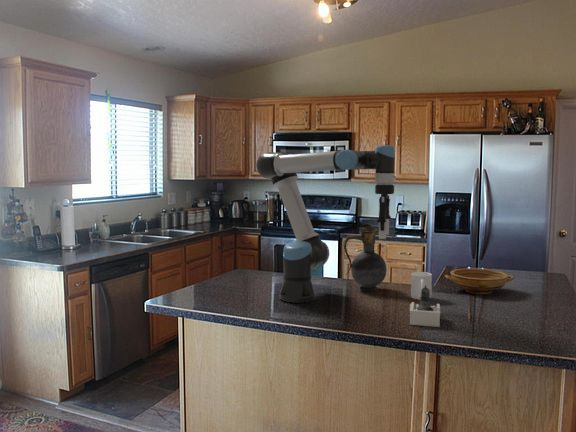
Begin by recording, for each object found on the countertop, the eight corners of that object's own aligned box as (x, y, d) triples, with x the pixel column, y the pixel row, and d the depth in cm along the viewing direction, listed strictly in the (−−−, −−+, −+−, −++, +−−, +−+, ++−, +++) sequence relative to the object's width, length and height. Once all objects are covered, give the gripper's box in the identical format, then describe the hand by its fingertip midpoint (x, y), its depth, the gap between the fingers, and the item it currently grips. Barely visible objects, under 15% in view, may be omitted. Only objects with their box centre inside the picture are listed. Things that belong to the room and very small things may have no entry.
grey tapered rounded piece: (414, 316, 190) (414, 283, 189) (430, 315, 190) (430, 283, 189) (419, 321, 184) (420, 287, 183) (435, 320, 185) (436, 287, 183)
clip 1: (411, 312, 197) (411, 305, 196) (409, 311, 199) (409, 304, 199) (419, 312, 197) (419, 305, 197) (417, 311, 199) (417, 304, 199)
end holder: (409, 324, 182) (409, 310, 181) (411, 315, 193) (411, 302, 193) (439, 326, 179) (439, 312, 179) (439, 317, 191) (439, 303, 190)
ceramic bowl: (451, 297, 220) (452, 278, 219) (438, 284, 244) (438, 267, 243) (523, 298, 218) (524, 279, 218) (502, 285, 242) (503, 268, 242)
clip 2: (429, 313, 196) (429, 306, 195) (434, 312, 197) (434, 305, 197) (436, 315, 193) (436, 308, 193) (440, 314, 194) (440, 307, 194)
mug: (433, 303, 211) (433, 278, 210) (412, 302, 212) (412, 277, 211) (430, 296, 223) (430, 272, 222) (410, 295, 224) (410, 271, 223)
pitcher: (388, 292, 229) (389, 224, 227) (344, 292, 229) (345, 224, 227) (383, 286, 240) (384, 221, 237) (342, 286, 240) (342, 222, 238)
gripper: (391, 185, 197) (390, 241, 199) (396, 183, 220) (395, 233, 222) (371, 185, 199) (371, 240, 201) (378, 183, 223) (377, 232, 224)
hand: (384, 236), depth 211 cm, fingers open, 13 cm apart
